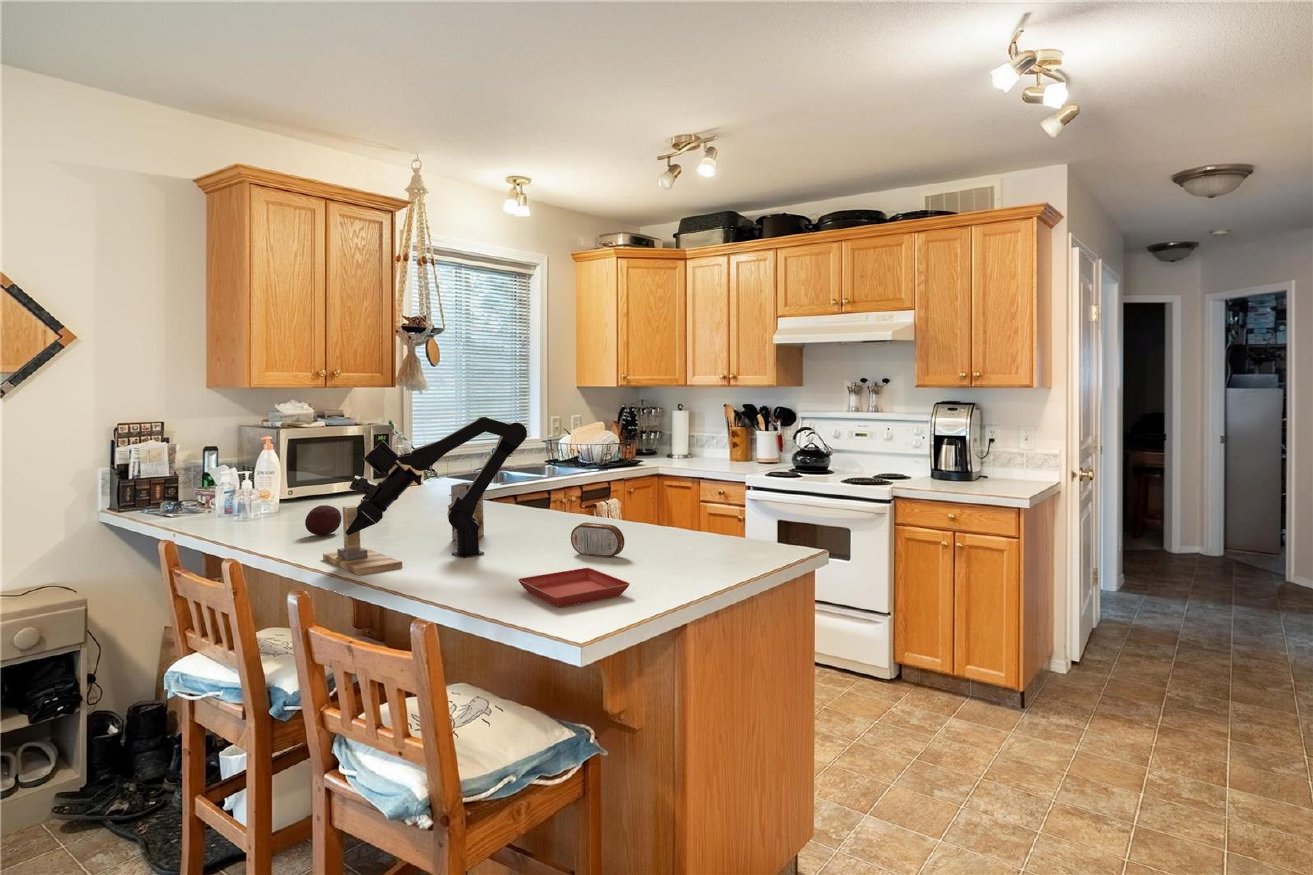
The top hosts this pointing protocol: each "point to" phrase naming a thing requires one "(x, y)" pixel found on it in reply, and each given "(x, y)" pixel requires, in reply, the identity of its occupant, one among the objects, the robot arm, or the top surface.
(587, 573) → the plant saucer
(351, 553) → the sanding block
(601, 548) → the tin
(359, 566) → the board
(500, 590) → the top surface
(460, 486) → the coffee box
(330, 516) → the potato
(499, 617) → the top surface
